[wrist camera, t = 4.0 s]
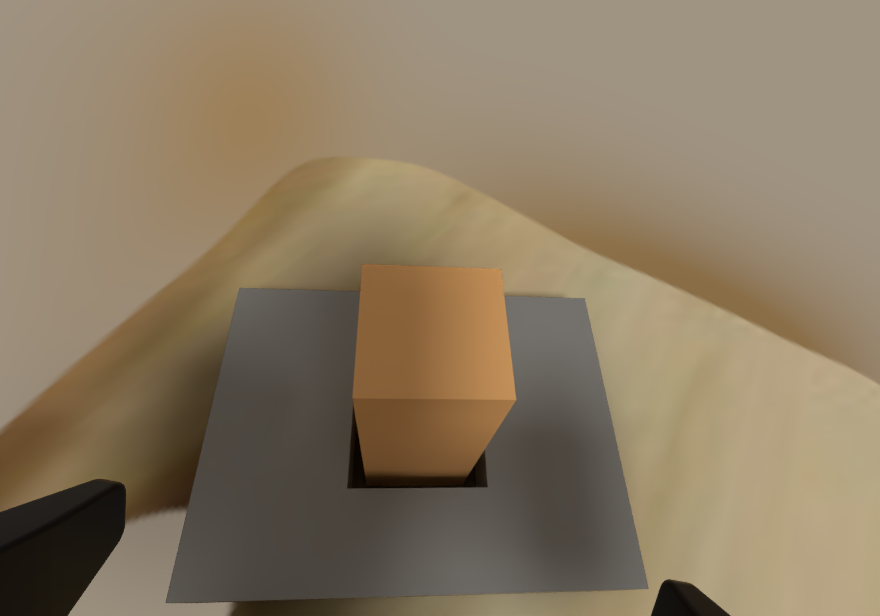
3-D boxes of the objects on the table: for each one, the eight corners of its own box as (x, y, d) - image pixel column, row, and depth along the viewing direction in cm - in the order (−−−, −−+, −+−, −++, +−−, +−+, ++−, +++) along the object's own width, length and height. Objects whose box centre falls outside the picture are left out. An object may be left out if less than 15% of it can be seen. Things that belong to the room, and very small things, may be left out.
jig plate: (618, 590, 19) (648, 588, 17) (193, 602, 17) (165, 603, 15) (567, 324, 25) (584, 298, 23) (252, 316, 23) (239, 287, 21)
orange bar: (462, 485, 20) (516, 399, 12) (367, 485, 20) (352, 398, 11) (457, 395, 22) (501, 268, 14) (371, 394, 22) (362, 264, 13)
